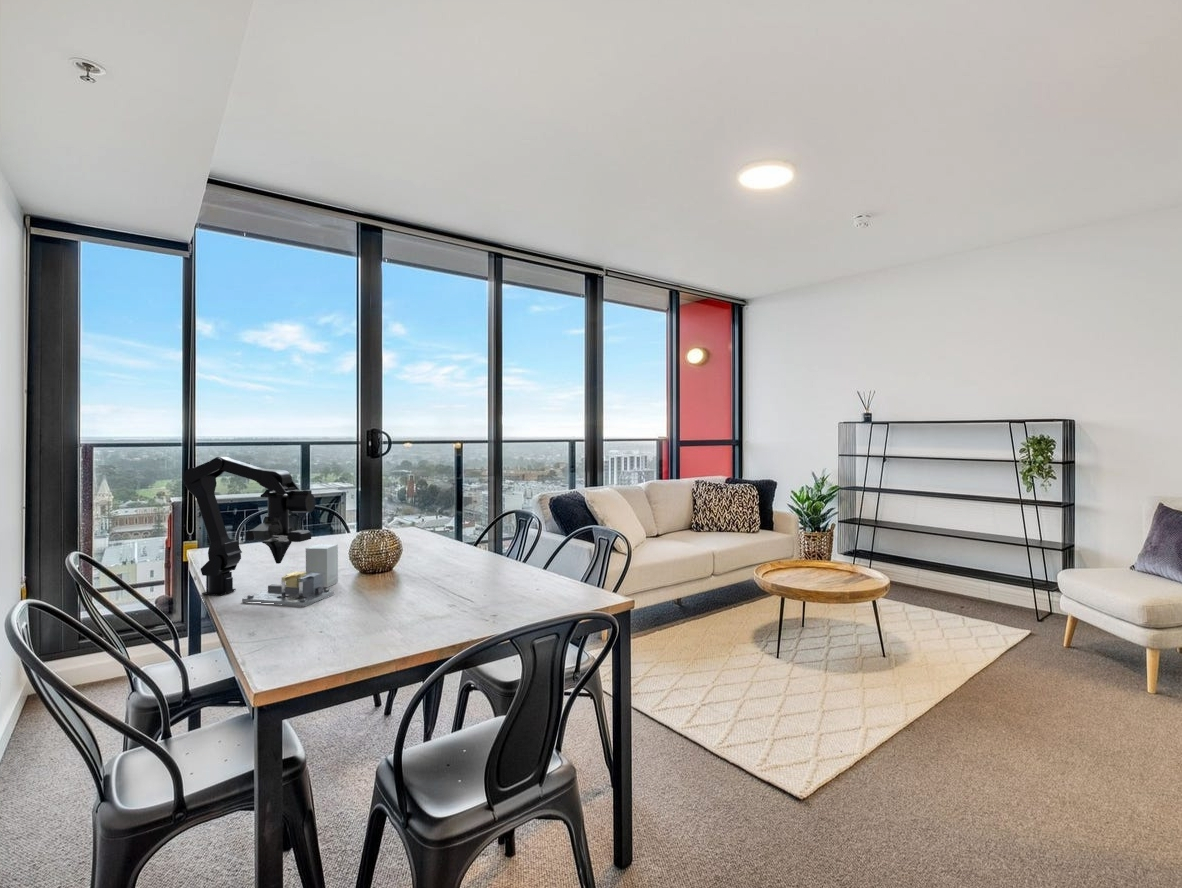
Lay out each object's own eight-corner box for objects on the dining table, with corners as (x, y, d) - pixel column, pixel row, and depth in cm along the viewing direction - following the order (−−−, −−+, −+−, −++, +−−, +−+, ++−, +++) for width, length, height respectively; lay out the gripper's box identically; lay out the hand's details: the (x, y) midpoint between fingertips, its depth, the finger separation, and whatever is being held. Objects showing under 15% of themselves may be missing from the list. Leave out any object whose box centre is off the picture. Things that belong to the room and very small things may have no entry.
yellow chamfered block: (276, 595, 176) (276, 577, 176) (295, 588, 184) (295, 571, 184) (287, 596, 176) (287, 578, 176) (306, 589, 184) (306, 572, 184)
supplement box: (338, 582, 200) (338, 544, 200) (326, 588, 192) (326, 548, 192) (317, 581, 200) (317, 543, 200) (304, 587, 193) (304, 547, 193)
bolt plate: (242, 602, 174) (242, 578, 174) (276, 590, 188) (276, 568, 188) (304, 607, 171) (304, 582, 171) (334, 594, 184) (334, 571, 184)
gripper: (231, 514, 177) (231, 567, 177) (287, 516, 174) (287, 570, 174) (258, 510, 188) (258, 560, 188) (312, 511, 185) (312, 562, 185)
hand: (278, 563), depth 184 cm, fingers closed
